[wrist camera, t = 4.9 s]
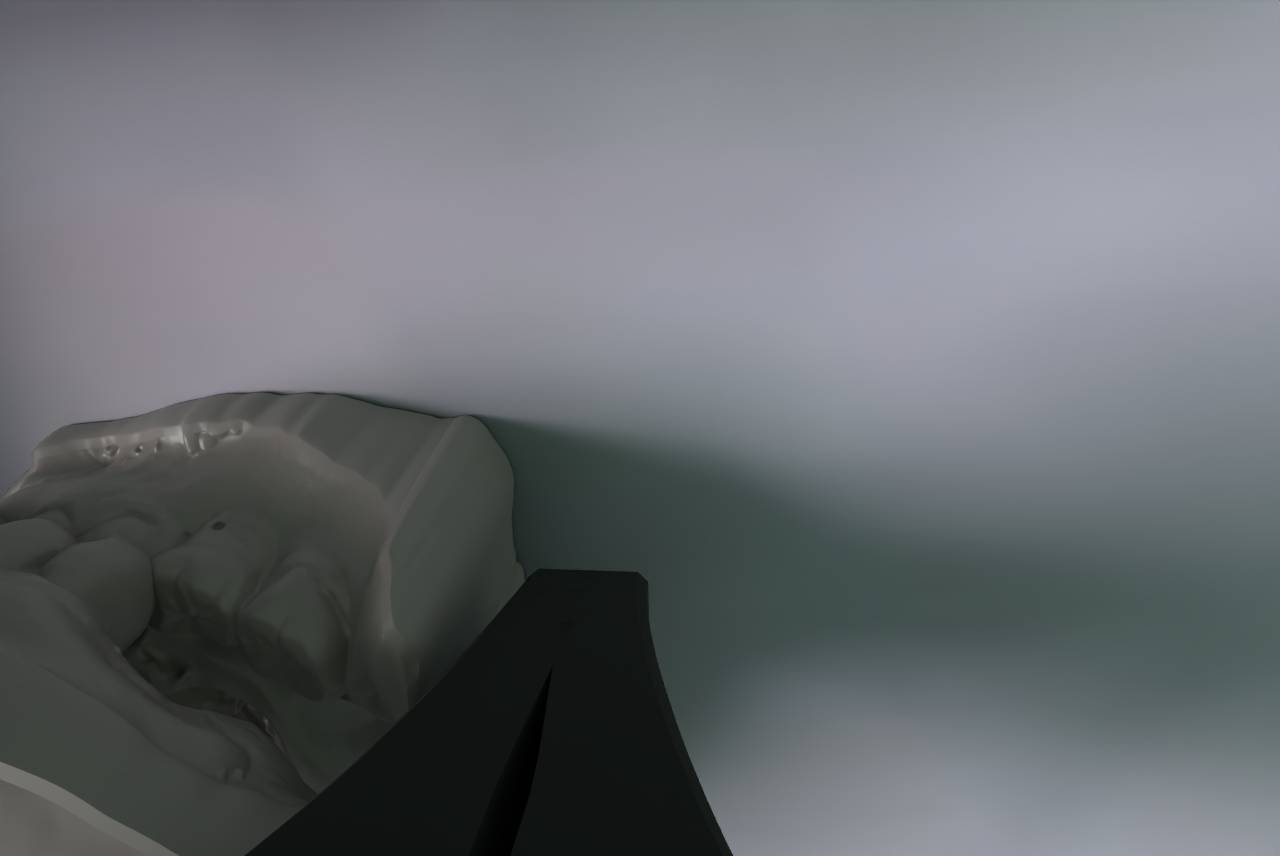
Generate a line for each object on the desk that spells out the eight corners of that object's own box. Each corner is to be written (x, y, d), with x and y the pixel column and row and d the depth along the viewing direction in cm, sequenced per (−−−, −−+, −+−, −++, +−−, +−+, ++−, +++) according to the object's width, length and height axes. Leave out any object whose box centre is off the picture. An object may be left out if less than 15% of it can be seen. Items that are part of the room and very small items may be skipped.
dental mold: (120, 167, 9) (-515, 304, 4) (650, 540, 10) (601, 946, 6) (-105, 642, 12) (-619, 1023, 7) (328, 883, 13) (126, 1330, 9)
